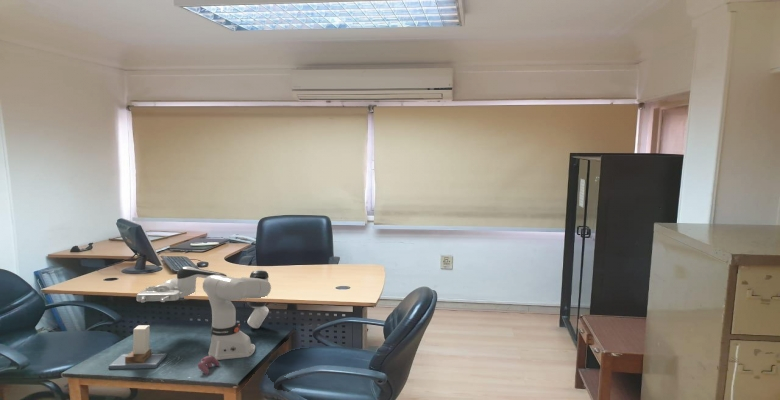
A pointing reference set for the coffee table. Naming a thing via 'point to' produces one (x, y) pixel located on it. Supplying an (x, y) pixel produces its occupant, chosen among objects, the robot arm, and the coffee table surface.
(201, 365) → the video game controller
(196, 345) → the coffee table surface
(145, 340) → the cream pillar
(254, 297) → the robot arm
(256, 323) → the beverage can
